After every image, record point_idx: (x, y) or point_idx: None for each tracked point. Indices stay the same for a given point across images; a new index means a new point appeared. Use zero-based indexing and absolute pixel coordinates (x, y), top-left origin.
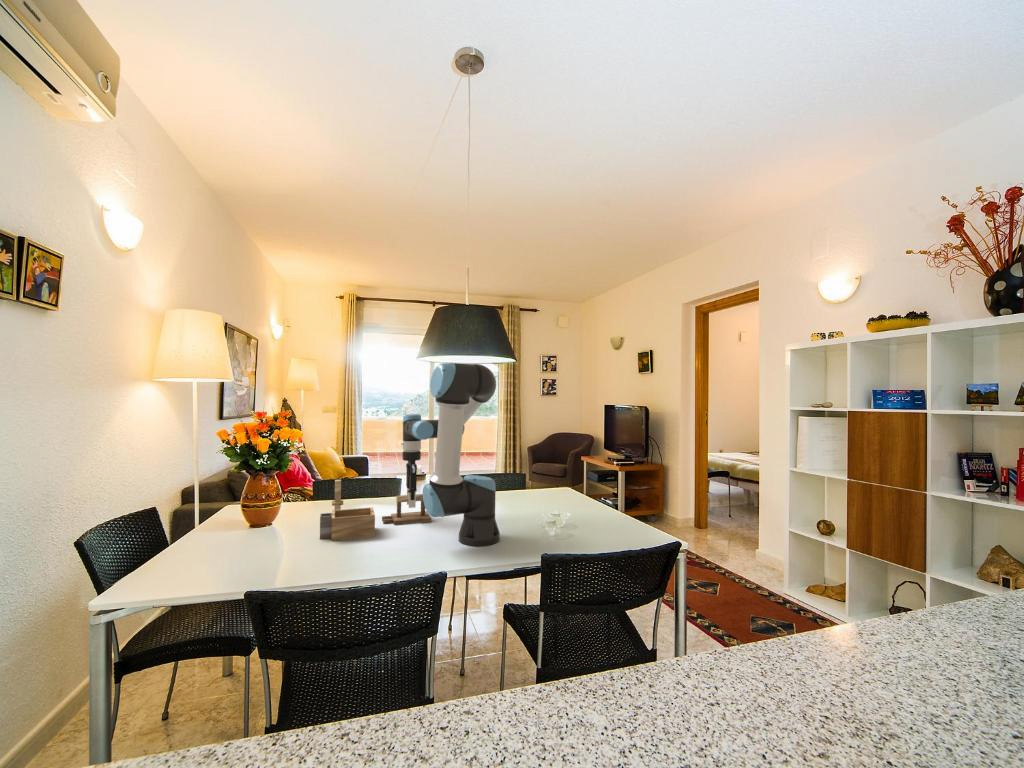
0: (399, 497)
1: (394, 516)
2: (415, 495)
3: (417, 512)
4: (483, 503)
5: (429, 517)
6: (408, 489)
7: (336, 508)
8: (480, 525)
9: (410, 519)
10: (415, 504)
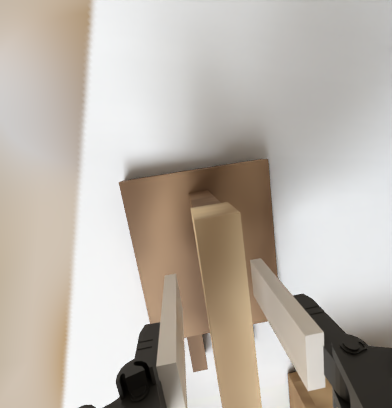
0: (259, 403)
1: (204, 325)
2: (301, 307)
3: (143, 228)
4: None
5: (252, 168)
6: (184, 405)
7: None
8: None
9: (267, 256)
10: (267, 267)
